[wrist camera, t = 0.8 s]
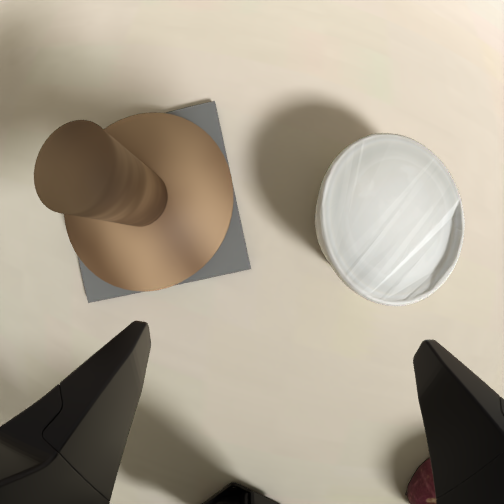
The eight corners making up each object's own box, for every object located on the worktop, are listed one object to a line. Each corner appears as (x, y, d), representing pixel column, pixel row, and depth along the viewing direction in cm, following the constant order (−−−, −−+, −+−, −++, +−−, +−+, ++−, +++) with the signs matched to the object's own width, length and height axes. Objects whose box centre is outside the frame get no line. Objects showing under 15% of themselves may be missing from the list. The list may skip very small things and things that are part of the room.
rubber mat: (250, 268, 23) (251, 268, 23) (91, 301, 23) (88, 302, 22) (215, 104, 23) (214, 100, 22) (67, 148, 23) (64, 146, 22)
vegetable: (468, 446, 28) (545, 491, 14) (416, 505, 26) (485, 561, 12) (451, 423, 25) (551, 481, 11) (387, 496, 23) (472, 571, 9)
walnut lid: (155, 324, 22) (91, 385, 11) (45, 214, 22) (-52, 199, 11) (271, 189, 23) (297, 138, 11) (146, 90, 22) (94, 5, 11)
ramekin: (407, 310, 24) (442, 323, 19) (282, 270, 23) (294, 277, 18) (439, 184, 24) (476, 174, 18) (325, 133, 23) (345, 106, 18)
